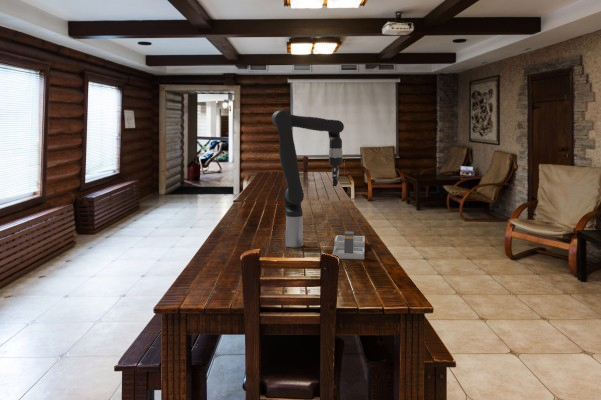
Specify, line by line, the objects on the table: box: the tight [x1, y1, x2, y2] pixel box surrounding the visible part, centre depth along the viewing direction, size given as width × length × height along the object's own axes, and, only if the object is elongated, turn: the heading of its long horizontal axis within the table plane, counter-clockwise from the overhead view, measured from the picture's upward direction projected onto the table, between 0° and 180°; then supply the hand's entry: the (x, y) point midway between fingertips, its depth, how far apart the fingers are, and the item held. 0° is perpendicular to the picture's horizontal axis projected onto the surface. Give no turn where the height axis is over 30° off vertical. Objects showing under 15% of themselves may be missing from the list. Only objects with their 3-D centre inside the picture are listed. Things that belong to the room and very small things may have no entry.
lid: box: [332, 246, 365, 260], centre depth 256 cm, size 16×14×2 cm
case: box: [334, 235, 366, 249], centre depth 270 cm, size 16×16×5 cm
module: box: [344, 230, 355, 254], centre depth 255 cm, size 4×5×11 cm
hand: (335, 185), depth 278 cm, fingers open, 8 cm apart
